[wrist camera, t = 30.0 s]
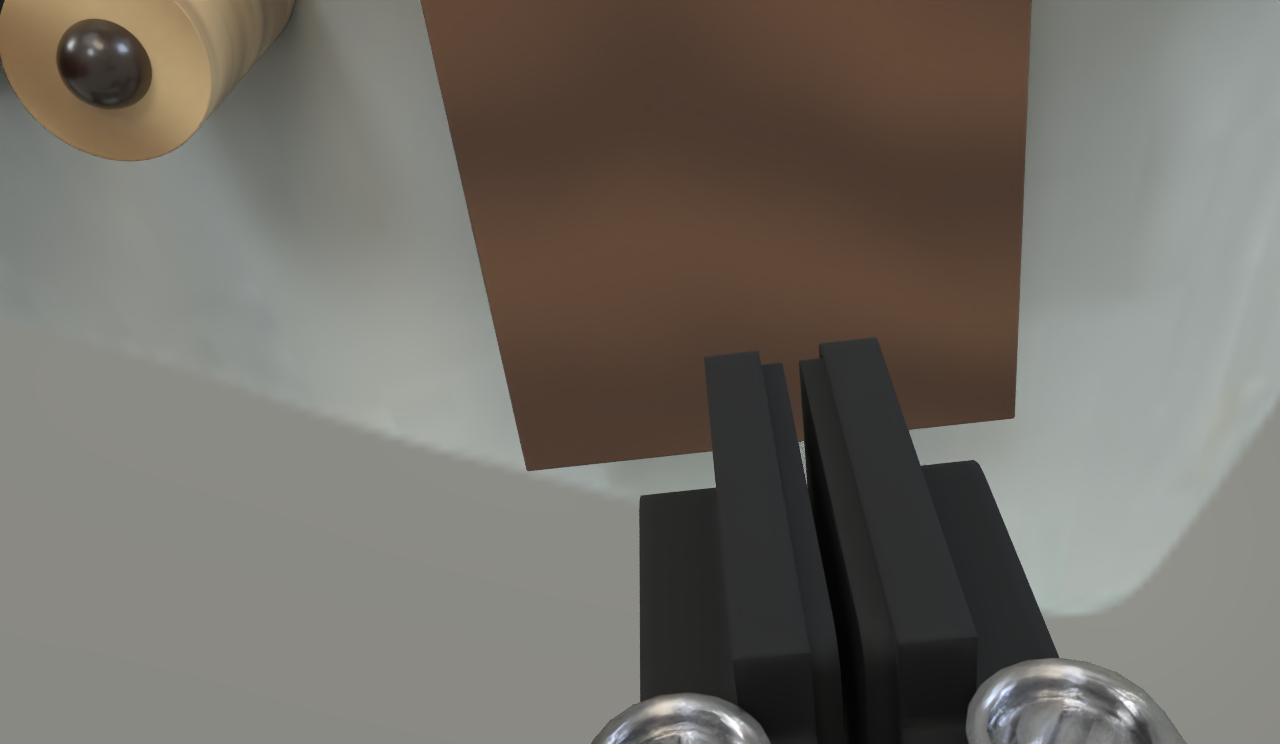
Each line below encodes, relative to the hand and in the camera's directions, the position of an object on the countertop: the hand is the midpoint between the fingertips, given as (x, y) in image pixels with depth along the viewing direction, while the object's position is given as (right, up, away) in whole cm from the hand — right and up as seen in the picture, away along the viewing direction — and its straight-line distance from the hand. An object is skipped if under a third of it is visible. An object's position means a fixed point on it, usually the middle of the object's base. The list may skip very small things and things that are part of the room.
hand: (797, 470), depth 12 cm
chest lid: (+1, +7, +19) cm, 21 cm away
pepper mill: (-14, +13, +24) cm, 31 cm away
